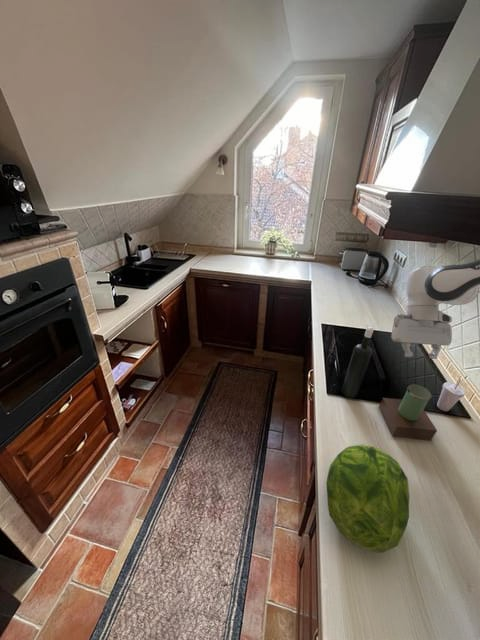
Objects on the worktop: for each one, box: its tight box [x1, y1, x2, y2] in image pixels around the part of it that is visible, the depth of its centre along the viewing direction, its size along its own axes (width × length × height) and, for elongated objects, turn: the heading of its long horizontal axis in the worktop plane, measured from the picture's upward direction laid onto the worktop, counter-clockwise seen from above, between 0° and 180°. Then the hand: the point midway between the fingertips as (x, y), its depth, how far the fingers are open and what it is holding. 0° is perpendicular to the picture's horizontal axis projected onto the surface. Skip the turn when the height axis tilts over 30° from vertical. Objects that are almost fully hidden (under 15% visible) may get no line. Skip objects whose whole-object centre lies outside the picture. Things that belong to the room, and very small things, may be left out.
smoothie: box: [436, 378, 467, 412], centre depth 90 cm, size 6×6×14 cm
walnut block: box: [378, 397, 438, 441], centre depth 86 cm, size 12×12×5 cm
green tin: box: [398, 384, 432, 421], centre depth 82 cm, size 6×6×10 cm
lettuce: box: [325, 444, 410, 553], centre depth 62 cm, size 18×23×19 cm
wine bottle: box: [340, 325, 375, 399], centre depth 91 cm, size 6×6×30 cm
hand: (420, 357), depth 83 cm, fingers open, 8 cm apart
